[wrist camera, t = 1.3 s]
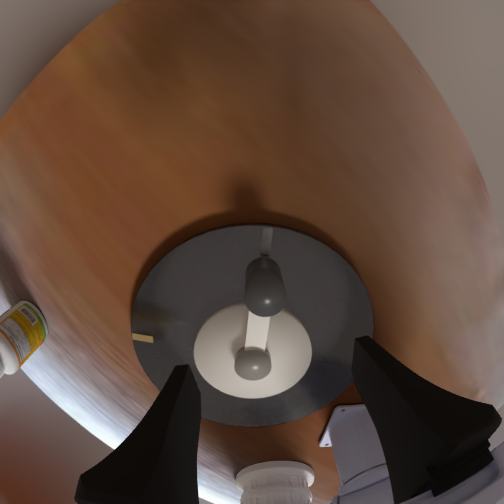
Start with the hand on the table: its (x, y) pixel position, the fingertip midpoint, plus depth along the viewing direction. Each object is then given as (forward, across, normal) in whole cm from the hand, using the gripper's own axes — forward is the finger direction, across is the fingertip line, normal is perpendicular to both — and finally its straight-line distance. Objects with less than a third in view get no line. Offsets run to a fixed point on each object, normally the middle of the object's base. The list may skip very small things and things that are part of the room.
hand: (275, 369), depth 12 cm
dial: (+10, +1, +6) cm, 12 cm away
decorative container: (+8, +2, +35) cm, 36 cm away
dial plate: (+11, +1, +8) cm, 14 cm away
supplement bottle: (+13, +26, +4) cm, 29 cm away
